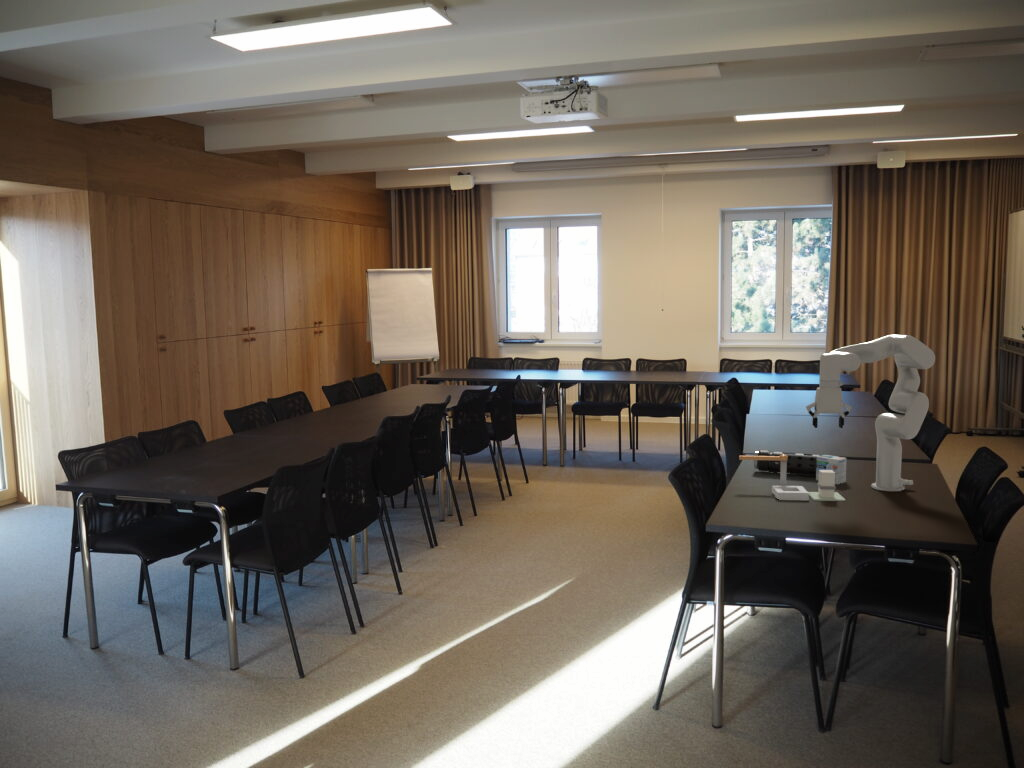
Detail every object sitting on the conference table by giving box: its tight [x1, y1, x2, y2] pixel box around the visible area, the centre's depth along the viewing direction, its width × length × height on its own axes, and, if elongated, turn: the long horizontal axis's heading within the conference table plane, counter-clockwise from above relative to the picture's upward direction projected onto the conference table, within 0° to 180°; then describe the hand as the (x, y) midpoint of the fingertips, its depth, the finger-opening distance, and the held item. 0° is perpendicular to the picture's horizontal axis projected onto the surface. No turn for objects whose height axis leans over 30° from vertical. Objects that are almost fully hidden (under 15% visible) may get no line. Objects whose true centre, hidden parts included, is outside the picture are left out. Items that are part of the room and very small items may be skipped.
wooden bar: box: [738, 455, 788, 461], centre depth 356 cm, size 20×3×2 cm, turn 81°
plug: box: [816, 470, 837, 497], centre depth 341 cm, size 6×6×10 cm
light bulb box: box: [815, 454, 847, 485], centre depth 368 cm, size 11×7×11 cm, turn 40°
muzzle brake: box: [753, 449, 821, 477], centre depth 383 cm, size 10×28×10 cm, turn 63°
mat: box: [807, 491, 846, 502], centre depth 341 cm, size 12×12×1 cm
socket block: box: [771, 461, 810, 501], centre depth 347 cm, size 12×22×12 cm, turn 173°
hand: (828, 427), depth 338 cm, fingers open, 9 cm apart
